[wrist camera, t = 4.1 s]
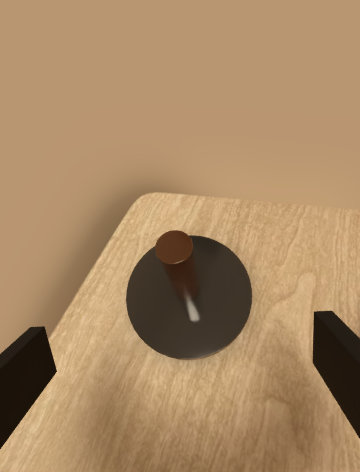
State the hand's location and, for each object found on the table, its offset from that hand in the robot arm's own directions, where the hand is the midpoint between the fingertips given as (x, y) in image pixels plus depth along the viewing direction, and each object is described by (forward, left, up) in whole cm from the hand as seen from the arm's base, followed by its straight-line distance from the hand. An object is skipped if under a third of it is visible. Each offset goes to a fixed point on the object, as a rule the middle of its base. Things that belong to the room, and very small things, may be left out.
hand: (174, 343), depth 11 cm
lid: (-1, +6, -11) cm, 13 cm away
